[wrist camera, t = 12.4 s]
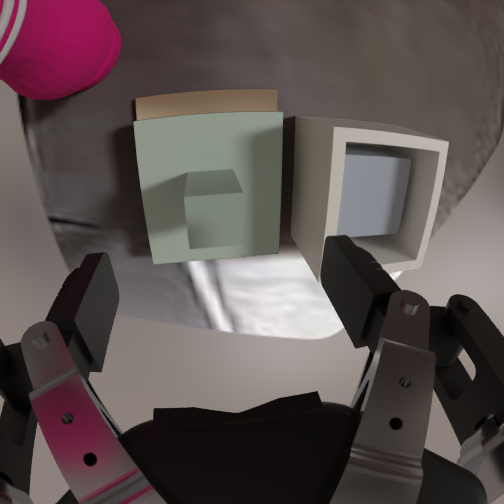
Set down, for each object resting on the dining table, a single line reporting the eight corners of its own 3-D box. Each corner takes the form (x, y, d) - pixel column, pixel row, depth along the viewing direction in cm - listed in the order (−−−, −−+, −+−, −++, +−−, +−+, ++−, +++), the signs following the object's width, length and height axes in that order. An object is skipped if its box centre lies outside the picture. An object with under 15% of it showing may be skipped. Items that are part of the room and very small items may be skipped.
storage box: (295, 115, 20) (333, 126, 14) (393, 124, 21) (448, 142, 15) (290, 234, 25) (318, 282, 19) (379, 228, 26) (420, 267, 21)
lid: (140, 118, 18) (111, 131, 12) (275, 110, 19) (309, 118, 13) (157, 249, 24) (145, 306, 17) (272, 240, 25) (296, 293, 19)
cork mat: (136, 98, 18) (135, 98, 17) (275, 89, 19) (277, 89, 19) (156, 256, 24) (155, 258, 24) (272, 246, 26) (273, 248, 25)
